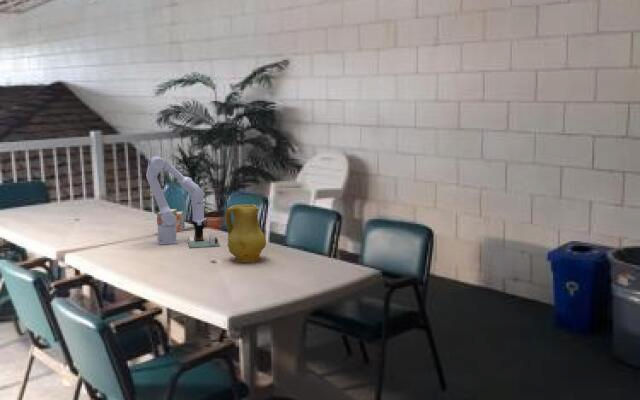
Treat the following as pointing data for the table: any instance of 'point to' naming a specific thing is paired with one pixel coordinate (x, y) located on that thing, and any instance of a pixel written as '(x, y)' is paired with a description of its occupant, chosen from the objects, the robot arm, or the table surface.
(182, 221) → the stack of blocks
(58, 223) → the table surface
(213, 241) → the sliding jaw
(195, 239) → the walnut block
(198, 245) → the vise base
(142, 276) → the table surface
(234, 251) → the pitcher
